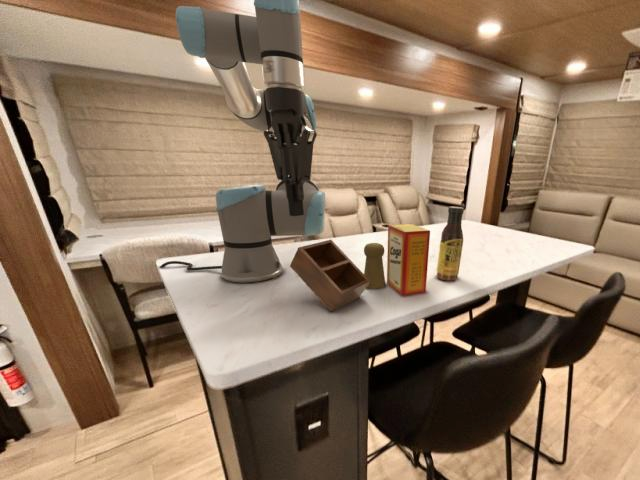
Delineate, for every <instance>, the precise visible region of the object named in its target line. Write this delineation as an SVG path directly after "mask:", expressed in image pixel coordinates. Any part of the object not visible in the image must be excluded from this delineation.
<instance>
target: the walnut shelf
mask: <svg viewBox="0 0 640 480" xmlns="http://www.w3.org/2000/svg"><path fill="white" fill-rule="evenodd" d="M289 267H290V268H291V269H292V270H293V272H294V273H295V274H296V275H297V276H298V277H299V278H300V279H301V281H302V282H303V283H304V284H305V285H306V286H307V287H308V288H309V289H310V290H311V291H312V293H313V294H314V295H315V296H316V297H317V298H318V299H319V300H320V301H321V303H322V304H323V305H324V306H325V308H327V309H328V310H329V311H330V312H333V311H335V310H337V309H339V308H340V307H342V306H345V305H347V304H349V303H351V302H353V301H355V300H357V299H358V298H360V297H361V295H362V294H363V293H364V291H365V290H366V289H367V288H366V287H367V286H368V284H369V283H370V280H369V279H368V278H367V277H366V276H365V275H364V272H362V270H360V269H359V267H357V265H356V264H355V263H354V262H353V261H352V260H351V259H350V258H349V257H348V256H347V254H345V252H344V251H343V250H342V249H341V248H340V247H339V246H338V245H337V244H336V243H335V242H334V241H333V239H328V240H323V241H319V242H315V243H312V244H307V245H303V246H299V247H297V250H296V251H295V254H294V255H293V258H292V260H291V263H290V265H289Z"/></svg>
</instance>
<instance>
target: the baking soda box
mask: <svg viewBox="0 0 640 480" xmlns="http://www.w3.org/2000/svg"><path fill="white" fill-rule="evenodd" d="M430 238H431V230H429V229H427V228H424V227H422V226H420V225H416V224H412V223H402V224H401V223H400V224H388V225H387V260H386V263H387V264H386V284H387V285H388V286H389V287H391V288H392V289H393V290H394V291H396V292H397V293H398V294H399V295H401V296H402V297H405V296H412V295H417V294H425V293H426V292H427V290H426V289H427V278H428V267H429V266H428V265H429V252H430V240H431V239H430Z"/></svg>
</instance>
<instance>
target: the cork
mask: <svg viewBox="0 0 640 480" xmlns="http://www.w3.org/2000/svg"><path fill="white" fill-rule="evenodd" d="M363 254H364V256H365V264H364V272H363V274H364V275H365V276H366V277H367V278H368V279H369V280H370V283H369V284H368V286H367V287H366V288H365V289H372V290H374V289H375V290H377V289H383V288H384V287H385V286H386V278H385V277H386V276H385V269H384V261H383V257H384V256H385V255H384V254H385V247H384V246H383V244H381V243H378V242H370V243H366V244H365V246H364V247H363Z"/></svg>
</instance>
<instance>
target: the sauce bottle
mask: <svg viewBox="0 0 640 480" xmlns="http://www.w3.org/2000/svg"><path fill="white" fill-rule="evenodd" d="M464 210H465V208H464V207H463V206H448V209H447V212H448V215H447V216H448V217H447V220H446V225H445V226H444V227H443V228H442V229H443V230H442V231H441V238H440V241H439V249H438V259H437V267H436V277H437V279H439V280H442V281H451V282H452V281H455V280H457V279H458V275H459V273H460V267H461V258H462V252H463V247H464V246H463V245H464V234H463V229H462V223H463V222H462V221H463V214H464Z"/></svg>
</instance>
